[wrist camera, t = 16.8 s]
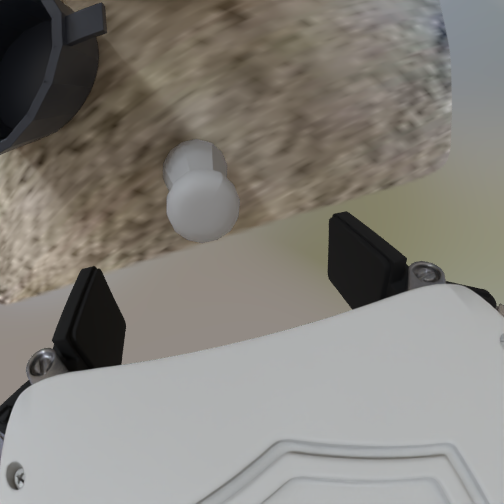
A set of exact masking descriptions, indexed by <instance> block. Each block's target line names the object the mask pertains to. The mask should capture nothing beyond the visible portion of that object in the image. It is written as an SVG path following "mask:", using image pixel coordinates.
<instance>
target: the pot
mask: <svg viewBox="0 0 504 504" xmlns="http://www.w3.org/2000/svg"><path fill="white" fill-rule="evenodd" d="M106 33H107V28H106V13H105V6H104V4H103V3H102V2H101V3H98V4H95V5H93V6H90V7H87V8H85V9H82V10H79V11H77V12H74V11H73V10H72V9H70V8H69V7H68V6H66V5H65V4H64V3H63V2H61V1H60V0H0V155H1V154H3V153H6V152H8V151H10V150H13V149H15V148H18V147H20V146H23V145H26V144H28V143H31V142H34V141H37V140H39V139H41V138H43V137H45V136H48V135H50V134H52V133H55V132H56V131H58V130H59V129H60V128H62V127H63V126H64V125H65V124H66V123H68V122H69V121H70V120H71V119H72V118H73V116H74V115H75V114H76V113H77V112H78V110H79V109H80V108H81V106H82V105H83V103H84V102H85V100H86V98H87V97H88V95H89V93H90V91H91V88H92V86H93V83H94V80H95V77H96V73H97V68H98V60H99V52H98V44H97V40H96V37H97V36H100V35H103V34H106Z"/></svg>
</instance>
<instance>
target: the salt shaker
mask: <svg viewBox="0 0 504 504" xmlns="http://www.w3.org/2000/svg"><path fill="white" fill-rule="evenodd" d="M163 179H164V182H165V184H166V186H167V188H168V190H169V193H168V195H167V216H168V218H169V220H170V222H171V224H172V226H173V228H174V230H175V232H177V233H178V234H180V235H181V236H182V237H184V238H185V239H187V240H190V241H195V242H199V243H205V242H209V241H214V240H218V239H219V238H221V237H222V236H224V235H225V234H227V233H228V232H230V231H231V229H232V227H233V226H234V224H235V222H236V221H237V219H238V214H239V206H240V199H239V197H238V194H237V192H236V189H235V187H234V185H233V183H232V182H231V181H229V180H228V179H227V163H226V161H225V158H224V156H223V153H222V152H221V151H220V150H219V149H218V148H217V147H216V146H215V145H214V144H212V143H211V142H207V141H203V140H199V139H194V140H189V141H184V142H181V143H180V144H179V145H177V146H176V147H175V148H173V149H172V150H171V151H170V152H169V154H168V156H167V158H166V159H165V161H164V163H163Z"/></svg>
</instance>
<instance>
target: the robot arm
mask: <svg viewBox="0 0 504 504" xmlns="http://www.w3.org/2000/svg"><path fill="white" fill-rule="evenodd" d="M328 251H329V252H328V277H329V280H330V281H331V282H332V284H333V285H334V286H335V287H336V289H337V290H338V291H339V293H340V294H341V295H342V297H343V298H344V299H345V300H346V302H347V303H348V304H349V306H350V307H351V308H352V310H350V311H347V312H344V313H341V314H338V315H335V316H332V317H329V318H325V319H322V320H318V321H315V322H312V323H308V324H305V325H301V326H298V327H295V328H291V329H288V330H284V331H280V332H276V333H273V334H269V335H265V336H261V337H258V338H253V339H249V340H245V341H241V342H237V343H233V344H229V345H224V346H220V347H216V348H211V349H207V350H202V351H197V352H192V353H187V354H182V355H177V356H171V357H166V358H160V359H155V360H149V361H143V362H137V363H130V364H124V365H121V363H122V354H123V346H124V338H125V331H126V330H125V329H126V323H125V320H124V318H123V316H122V314H121V312H120V310H119V308H118V306H117V304H116V301H115V299H114V298H113V295H112V293H111V291H110V289H109V286H108V285H107V282H106V280H105V277H104V275H103V273H102V271H101V270H100V269H97V268H96V267H95V266H93V267H89V268H85V269H82V270H81V271H80V273H79V276H78V278H77V280H76V282H75V284H74V286H73V289H72V291H71V293H70V296H69V298H68V300H67V303H66V305H65V307H64V310H63V312H62V315H61V317H60V320H59V323H58V325H57V328H56V331H55V333H54V336H53V339H52V341H53V343H54V347H53V349H51V348H44V349H41V350H39V351H38V352H36V353H35V354H34V355H33V356H32V357H31V358H30V360H29V362H28V364H27V367H26V372H27V376H28V379H29V380H28V381H27V382H26V383H25V384H24V385H22V386H21V387H20V388H19V389H18V390H17V391H16V392H15V393H14V394H13V395H11V396H10V397H9V398H8V399H7V400H6V401H5V402H4V403H3V404H2V405H1V406H0V504H504V305H502V304H499V306H496V301H495V299H494V298H493V296H492V295H491V294H490V293H489V292H488V291H486V290H484V289H479V288H475V287H470V286H466V285H461V284H456V283H452V282H448V281H446V280H445V275H444V272H443V271H442V270H441V268H439V267H438V266H437V265H435V264H432V263H429V262H424V261H419V262H414V263H412V264H411V265H410V266H408V265H407V264H406V261H407V258H406V257H405V256H403V255H402V254H401V253H400V252H399V251H398V250H396V249H395V248H394V247H393V246H391V245H390V244H389V243H388V242H386V241H385V240H384V239H383V238H381V237H380V236H379V235H377V234H376V233H375V232H374V231H372V230H371V229H370V228H369V227H367V226H366V225H365V224H363V223H362V222H361V221H359V220H358V219H357V218H355V217H354V216H352V215H351V214H350V213H348V212H341V213H336V214H333V217H332V218H330V219H329V248H328Z"/></svg>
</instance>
